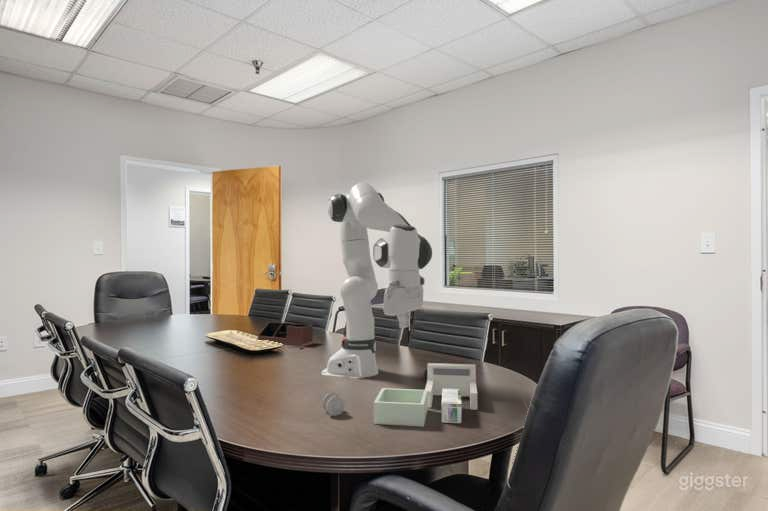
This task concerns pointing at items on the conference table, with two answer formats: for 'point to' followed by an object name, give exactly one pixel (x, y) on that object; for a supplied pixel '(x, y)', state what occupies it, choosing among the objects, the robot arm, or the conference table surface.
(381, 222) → the robot arm
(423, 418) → the tray
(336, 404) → the twin embossed discs
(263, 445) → the conference table surface
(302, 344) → the desk organizer
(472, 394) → the bay
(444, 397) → the syrup box
